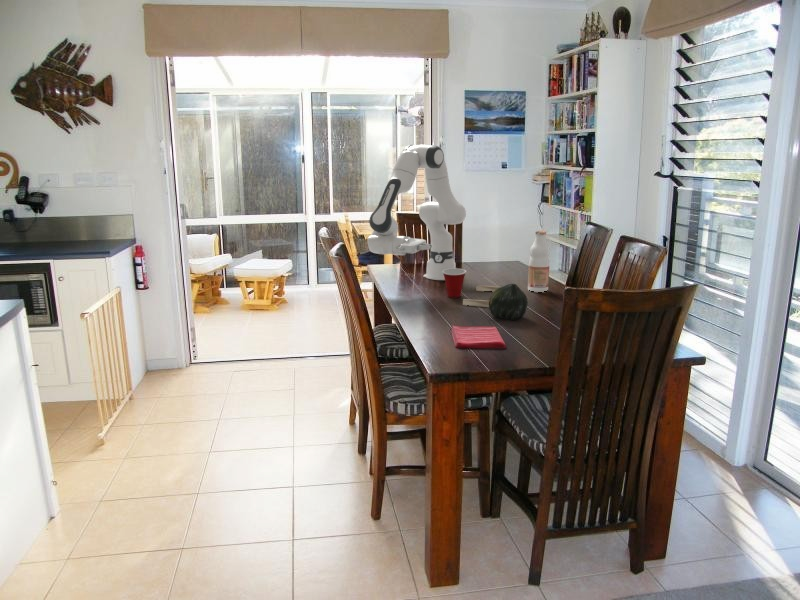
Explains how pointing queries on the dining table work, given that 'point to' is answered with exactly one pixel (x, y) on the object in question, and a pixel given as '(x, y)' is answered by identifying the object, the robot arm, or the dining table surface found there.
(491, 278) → the dining table surface
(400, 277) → the dining table surface
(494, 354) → the dining table surface
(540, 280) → the fruit juice
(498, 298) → the squash
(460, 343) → the dish towel
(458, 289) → the plastic cup
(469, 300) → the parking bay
